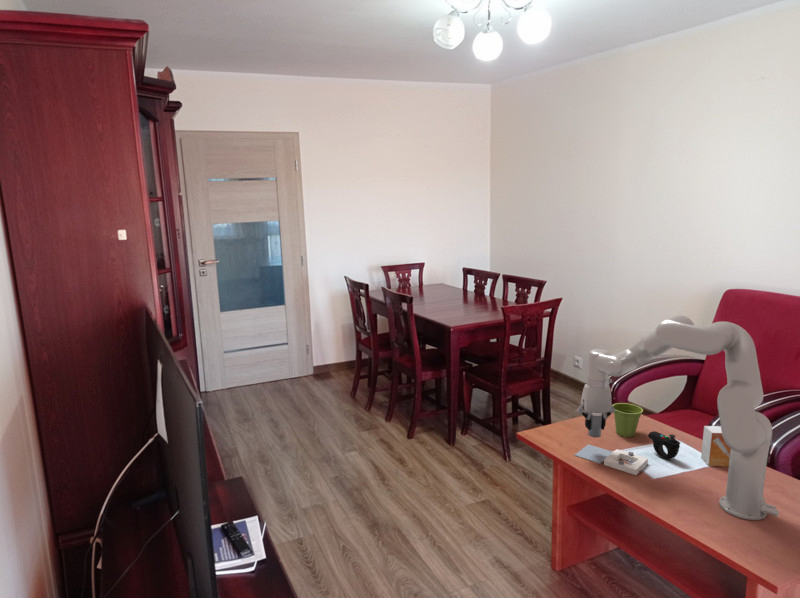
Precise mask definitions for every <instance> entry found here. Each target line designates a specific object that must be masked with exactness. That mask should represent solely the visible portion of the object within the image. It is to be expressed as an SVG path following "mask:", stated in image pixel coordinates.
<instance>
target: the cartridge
mask: <svg viewBox="0 0 800 598" xmlns="http://www.w3.org/2000/svg"><path fill="white" fill-rule="evenodd" d="M590 420H591V430H588V429H587V431H588V434H587V435H588V436H589V437H591V438H600V437H601V436H602V429H601V425H602V412H594V413H592V414H591V417H590Z"/></svg>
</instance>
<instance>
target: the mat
mask: <svg viewBox="0 0 800 598" xmlns="http://www.w3.org/2000/svg"><path fill="white" fill-rule="evenodd" d="M613 452H614V451H611V450H608V449H605V448H602V447H599V446H595V445H591V444H588V443H587V444H586V446H584V447H583V448H581V449H580V450H579V451H577V452H576V453H575V454H574V456H575V457H578V458H581V459H584V460H587V461H589V462H590V461H591V462H593V463H595V464H600V465H602V463H604V459H606V458H607V457H608V456H609V455H610V454H611V453H613Z"/></svg>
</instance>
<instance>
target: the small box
mask: <svg viewBox="0 0 800 598" xmlns="http://www.w3.org/2000/svg"><path fill="white" fill-rule="evenodd" d="M701 445H702V446H701V456H700V458H701V460H702V459H703V460H704V461H703V460H702V461H703V462H704V463H705V464H706V465H707V466H708V467H728V468H729V459H730V451H731V448H730V447H729V446H728V445H727V444H726V443H725V441H724V439H723V435H722V431H721V425H720V426H719V425H704V426H703V434H702V444H701Z"/></svg>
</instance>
